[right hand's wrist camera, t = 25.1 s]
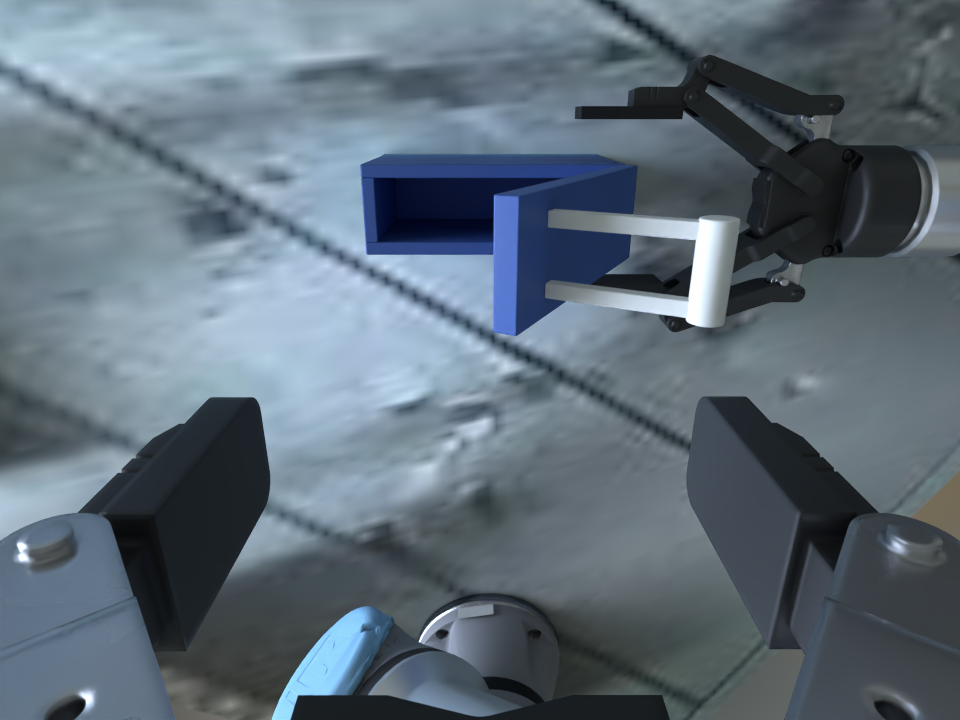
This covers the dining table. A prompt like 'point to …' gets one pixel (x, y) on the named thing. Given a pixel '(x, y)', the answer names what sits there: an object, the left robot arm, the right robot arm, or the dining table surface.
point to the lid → (597, 251)
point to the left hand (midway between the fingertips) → (572, 202)
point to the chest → (451, 197)
